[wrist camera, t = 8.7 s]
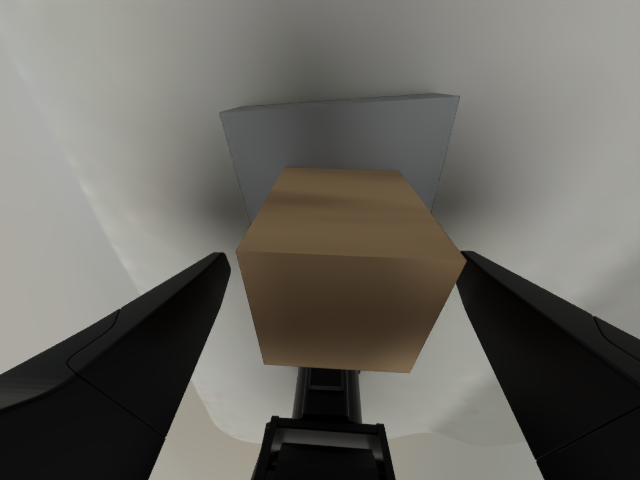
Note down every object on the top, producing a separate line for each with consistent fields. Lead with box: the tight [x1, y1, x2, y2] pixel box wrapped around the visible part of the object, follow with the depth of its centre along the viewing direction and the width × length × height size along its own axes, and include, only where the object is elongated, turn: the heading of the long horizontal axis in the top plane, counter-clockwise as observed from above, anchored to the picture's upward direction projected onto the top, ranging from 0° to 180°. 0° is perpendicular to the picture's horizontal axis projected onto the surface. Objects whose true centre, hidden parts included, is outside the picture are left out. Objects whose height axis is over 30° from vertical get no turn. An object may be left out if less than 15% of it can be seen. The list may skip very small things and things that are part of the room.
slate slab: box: [220, 93, 460, 225], centre depth 13 cm, size 10×9×3 cm
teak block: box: [236, 167, 466, 373], centre depth 9 cm, size 5×5×6 cm
